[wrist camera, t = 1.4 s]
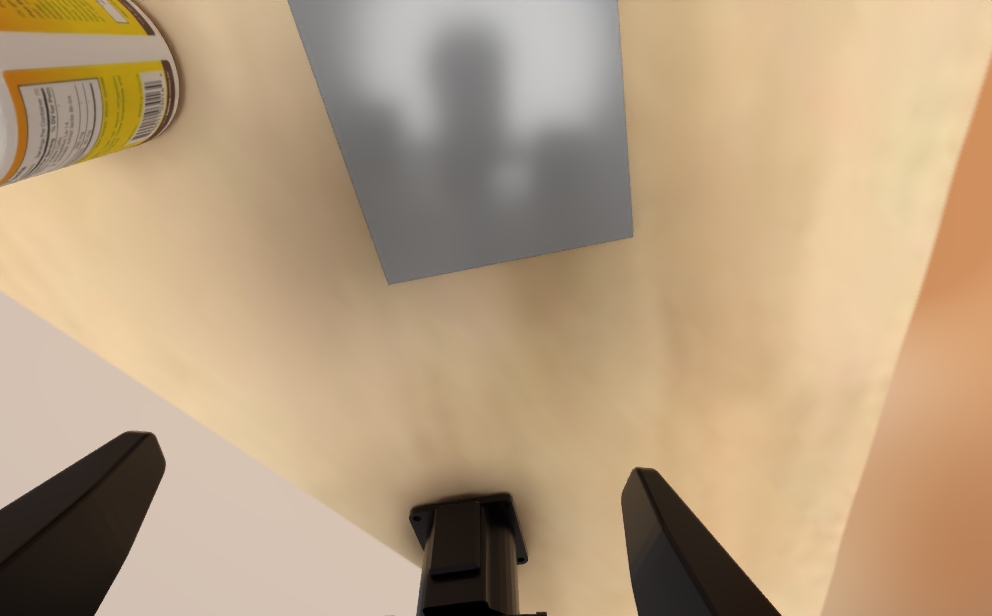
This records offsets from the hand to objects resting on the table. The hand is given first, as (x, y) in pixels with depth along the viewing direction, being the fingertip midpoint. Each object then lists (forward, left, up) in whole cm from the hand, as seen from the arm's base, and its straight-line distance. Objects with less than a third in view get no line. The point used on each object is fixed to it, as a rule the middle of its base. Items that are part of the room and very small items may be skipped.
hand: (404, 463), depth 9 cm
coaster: (+4, -2, -13) cm, 14 cm away
